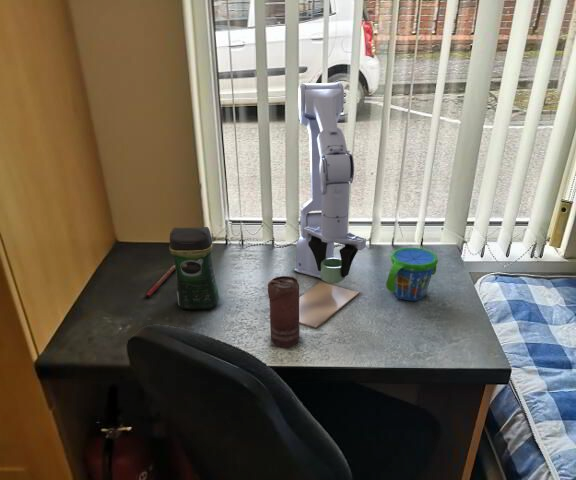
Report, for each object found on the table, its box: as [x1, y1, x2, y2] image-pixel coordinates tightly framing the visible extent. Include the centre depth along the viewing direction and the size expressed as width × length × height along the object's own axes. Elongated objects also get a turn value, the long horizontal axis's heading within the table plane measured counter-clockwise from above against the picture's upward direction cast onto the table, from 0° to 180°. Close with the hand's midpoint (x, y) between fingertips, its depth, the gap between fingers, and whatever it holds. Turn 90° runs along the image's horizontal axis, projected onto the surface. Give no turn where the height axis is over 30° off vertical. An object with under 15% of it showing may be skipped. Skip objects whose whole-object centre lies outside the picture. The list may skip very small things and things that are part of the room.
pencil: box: [145, 264, 176, 299], centre depth 147 cm, size 19×1×1 cm, turn 167°
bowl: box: [320, 257, 346, 285], centre depth 129 cm, size 6×6×4 cm
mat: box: [299, 281, 360, 330], centre depth 136 cm, size 11×20×1 cm, turn 146°
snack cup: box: [385, 247, 439, 302], centre depth 136 cm, size 16×10×10 cm
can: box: [267, 275, 300, 349], centre depth 118 cm, size 6×6×14 cm
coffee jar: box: [169, 226, 220, 311], centre depth 131 cm, size 10×8×19 cm
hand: (332, 272), depth 129 cm, fingers closed on bowl, 5 cm apart
